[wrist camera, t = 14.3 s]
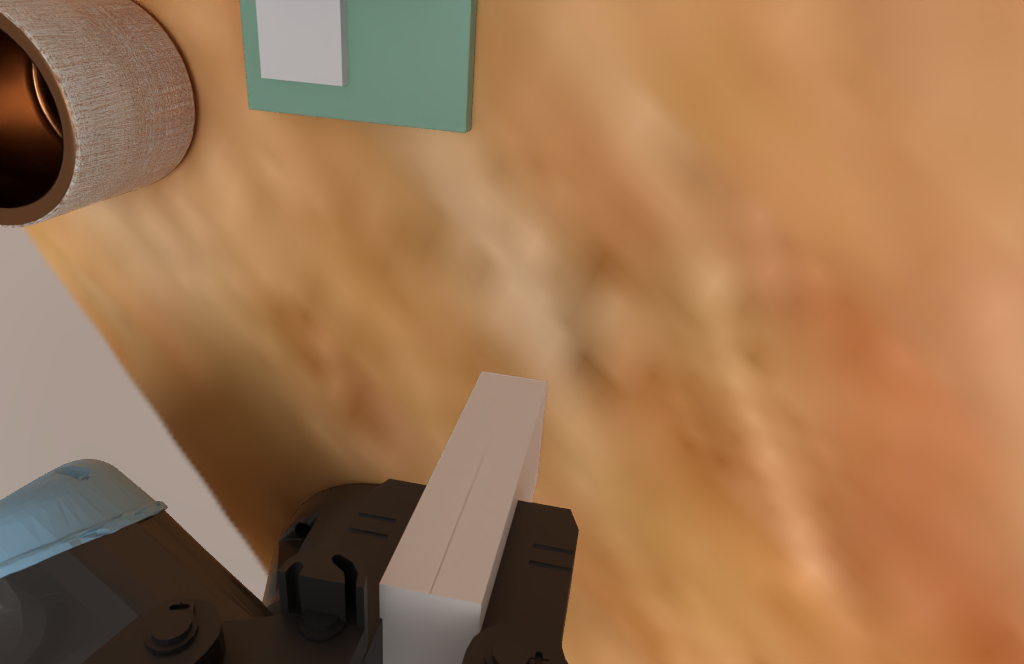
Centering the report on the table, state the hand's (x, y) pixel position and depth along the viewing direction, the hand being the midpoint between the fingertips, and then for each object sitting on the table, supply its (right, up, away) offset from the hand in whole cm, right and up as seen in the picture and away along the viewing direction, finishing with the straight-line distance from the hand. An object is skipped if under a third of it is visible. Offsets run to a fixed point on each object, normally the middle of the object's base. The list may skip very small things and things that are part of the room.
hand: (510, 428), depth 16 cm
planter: (-23, +16, +25) cm, 37 cm away
